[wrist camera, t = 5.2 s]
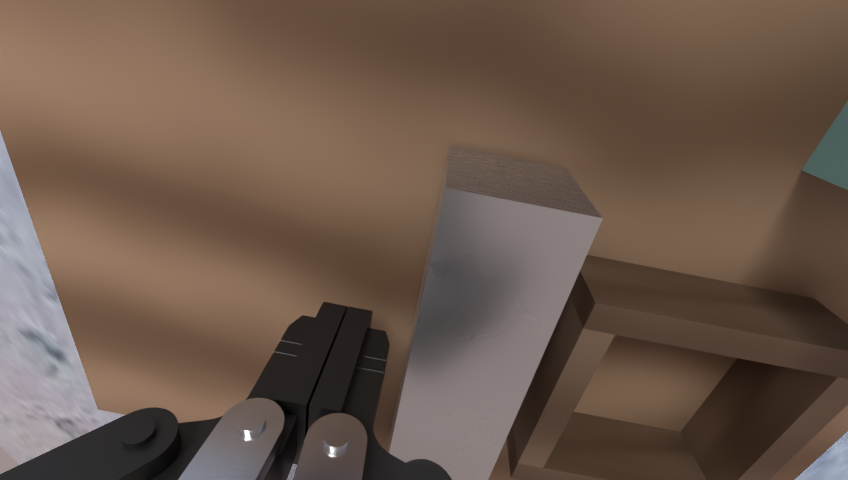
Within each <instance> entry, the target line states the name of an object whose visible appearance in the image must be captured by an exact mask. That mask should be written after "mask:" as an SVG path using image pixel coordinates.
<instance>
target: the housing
mask: <svg viewBox="0 0 848 480" xmlns="http://www.w3.org/2000/svg"><path fill="white" fill-rule="evenodd" d="M847 101H848V0H0V131H1V133H2V136H3V139H4V142H5V145H6V148H7V151H8V153H9V156H10V159H11V162H12V165H13V168H14V171H15V173H16V176H17V179H18V182H19V185H20V188H21V191H22V193H23V196H24V199H25V202H26V205H27V208H28V211H29V213H30V216H31V219H32V222H33V225H34V228H35V231H36V233H37V236H38V239H39V242H40V245H41V248H42V250H43V253H44V256H45V259H46V262H47V265H48V268H49V270H50V273H51V276H52V279H53V282H54V285H55V288H56V290H57V293H58V296H59V299H60V302H61V305H62V308H63V310H64V313H65V316H66V319H67V322H68V325H69V328H70V330H71V333H72V336H73V339H74V342H75V345H76V348H77V350H78V353H79V356H80V359H81V362H82V365H83V368H84V370H85V373H86V376H87V379H88V382H89V385H90V388H91V390H92V393H93V396H94V399H95V402H96V405H97V408H98V409H99V410H104V411H109V412H115V413H120V414H125V415H127V414H129V413H131V412H134V411H137V410H140V409H144V408H152V407H157V408H163V409H167V410H169V411H171V412H172V413H173V414H174V415H175V416H176V418H177V421H178V423H183V422H192V421H201V420H209V419H214V418H218V417H221V416H223V415H224V414H225V413H226V412H227V411H228V410H229V409H230V408H231V407H233V406H234V405H236V404H237V403H239V402H242V401H244V400H246V399H247V397H248V396H249V394H250V392H251V391H252V389H253V387H254V385H255V384H256V382H257V380H258V378H259V377H260V375H261V373H262V371H263V370H264V368H265V366H266V364H267V363H268V361H269V359H270V357H271V356H272V354H273V353H274V351H275V349H276V347H277V345H278V343H279V342H280V341H281V338H282V336H283V335H284V333H285V331H286V330H287V328H288V326H289V325H290V324H291V323H293V322H294V321H295V320H297V319H298V318H299V317H301V316H302V315H304V316H310V317H316V315H317V313H318V311H319V309H320V307H321V305H322V304H323V302H329V303H334V304H339V305H344V306H348V308H349V306H350V307H355V308H360V309H366V310H371V311H373V315H372V322H371V328H372V329H377V330H383V331H386V334H387V337H388V340H389V344H390V347H389V352H388V357H387V363H386V368H385V374H384V379H383V384H382V389H381V393H380V398H379V402H378V407H377V411H376V416H375V421H374V425H373V430H374V434H375V437H376V439H377V441H378V443H379V444H380V445H381V446H382V448H384V449H385V450H386V451H387V447H388V442H389V436H390V431H391V427H392V422H393V417H394V412H395V407H396V402H397V397H398V393H399V388H400V383H401V378H402V373H403V368H404V364H405V359H406V354H407V349H408V344H409V339H410V334H411V330H412V325H413V320H414V315H415V310H416V305H417V300H418V296H419V291H420V286H421V281H422V276H423V271H424V267H425V262H426V257H427V252H428V247H429V242H430V237H431V233H432V228H433V223H434V218H435V213H436V208H437V204H438V199H439V194H440V189H441V184H442V179H443V174H444V170H445V165H446V160H447V155H448V150H449V145H452V146H457V147H462V148H467V149H472V150H477V151H483V152H488V153H493V154H498V155H503V156H508V157H513V158H518V159H524V160H529V161H534V162H539V163H544V164H549V165H554V166H560V167H565V168H566V169H567V170H568V171H569V173H570V174H571V175H572V177H573V178H574V180H575V181H576V182H577V184H578V185H579V186H580V188H581V189H582V190H583V192H584V193H585V195H586V196H587V197H588V199H589V200H590V201H591V203H592V204H593V205H594V207H595V208H596V209H597V211H598V212H599V214H600V215H601V216H602V218H603V219H602V222H601V224H600V226H599V229H598V231H597V233H596V235H595V238H594V240H593V242H592V244H591V247H590V249H589V251H588V254H587V256H586V258H585V260H584V263H583V265H582V267H581V270H580V272H579V274H578V276H577V279H576V281H575V283H574V286H573V288H572V290H571V292H570V295H569V297H568V299H567V301H566V304H565V306H564V308H563V311H562V313H561V315H560V317H559V320H558V322H557V324H556V327H555V329H554V331H553V333H552V336H551V338H550V340H549V342H548V345H547V347H546V349H545V352H544V354H543V356H542V358H541V361H540V363H539V365H538V368H537V370H536V372H535V374H534V377H533V379H532V381H531V384H530V386H529V388H528V390H527V393H526V395H525V397H524V399H523V402H522V404H521V406H520V409H519V411H518V413H517V415H516V418H515V420H514V422H513V425H512V427H511V429H510V431H509V434H508V436H507V438H506V440H505V443H504V445H503V447H502V450H501V452H500V454H499V456H498V459H497V461H496V463H495V466H494V468H493V470H492V472H491V475H490V477H489V479H488V480H794V479H795V478H797V477H798V476H799V475H800V474H801V473H802V472H803V471H804V470H805V469H806V468H808V467H809V466H810V465H811V464H812V463H813V462H814V461H815V460H816V459H817V458H819V457H820V456H821V455H822V454H823V453H824V452H825V451H826V450H827V449H828V448H830V447H831V446H832V445H833V444H834V443H835V442H836V441H837V440H838V439H839V438H841V437H842V436H843V435H844V434H845V433H846V432H847V431H848V190H846V189H844V188H842V187H839V186H837V185H835V184H832V183H830V182H828V181H825V180H823V179H821V178H818V177H816V176H813V175H811V174H809V173H806V172H804V171H802V168H803V167H804V165H805V164H806V162H807V161H808V159H809V158H810V156H811V155H812V153H813V152H814V150H815V149H816V147H817V146H818V144H819V143H820V141H821V140H822V138H823V137H824V135H825V134H826V132H827V131H828V129H829V128H830V126H831V125H832V123H833V122H834V120H835V119H836V118H837V116H838V115H839V113H840V112H841V110H842V109H843V107H844V106H845V104H846V103H847Z"/></svg>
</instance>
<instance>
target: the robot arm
mask: <svg viewBox="0 0 848 480" xmlns="http://www.w3.org/2000/svg"><path fill="white" fill-rule="evenodd" d="M372 315H373V311H371V310H366V309H360V308H355V307H350V306H349V308H348V306H344V305H339V304H334V303H329V302H323V304H322V305H321V307H320V309H319V311H318V313H317V315H316V317H310V316H304V315H302V316H301V317H299V318H298V319H297V320H295V321H294V322H293V323H291V324H290V325H289V326H288V328H287V330H286V331H285V333H284V335H283V336H282V338H281V341H280V342H279V343H278V345H277V347H276V349H275V351H274V353H273V354H272V356H271V357H270V359H269V361H268V363H267V364H266V366H265V368H264V370H263V371H262V373H261V375H260V377H259V378H258V380H257V382H256V384H255V385H254V387H253V389H252V391H251V392H250V394H249V396H248V397H247V399H246V400H244V401H242V402H239V403H237V404H236V405H234V406H233V407H231V408H230V409H229V410H228V411H227V412H226V413H225V414H224V415H223V416H221V417H218V418H214V419H209V420H201V421H192V422H183V423H178V421H177V418H176V416H175V415H174V414H173V413H172V412H171V411H169V410H167V409H163V408H157V407H152V408H144V409H140V410H137V411H134V412H131V413H129V414H127V415H125V416H123V417H120V418H118V419H116V420H114V421H112V422H110V423H108V424H106V425H104V426H101V427H99V428H97V429H95V430H93V431H91V432H89V433H87V434H85V435H82V436H80V437H78V438H76V439H74V440H72V441H70V442H68V443H65V444H63V445H61V446H59V447H57V448H55V449H53V450H51V451H49V452H46V453H44V454H42V455H40V456H38V457H36V458H34V459H32V460H30V461H27V462H25V463H23V464H21V465H19V466H17V467H15V468H13V469H11V470H9V471H6V472H4V473H2V474H0V480H287V477H288V475H289V472H290V469H291V467H292V464H298V465H297V468H296V472H295V475H294V478H293V480H452V479H451V477H450V476H449V474H448V473H447V472H446V471H445V470H444V469H443V468H442V467H441V466H440V465H438V464H437V463H435V462H433V461H430V460H427V459H414V460H411V461H408V462H406V463H405V462H403V461H402V460H400V459H398V458H396V457H395V456H393V455H391V454H390V453H388V452H387V451H386V450H385V449H384V448H382V446H381V445H380V444H379V443H378V441H377V439H376V437H375V434H374V430H373V425H374V421H375V416H376V411H377V407H378V402H379V398H380V393H381V389H382V384H383V379H384V374H385V368H386V363H387V357H388V352H389V347H390V344H389V340H388V337H387V334H386V331H383V330H377V329H372V328H371V322H372Z"/></svg>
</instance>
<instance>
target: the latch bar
mask: <svg viewBox="0 0 848 480" xmlns="http://www.w3.org/2000/svg"><path fill="white" fill-rule="evenodd" d="M602 219H603V218H602V216H601V215H600V214H599V212H598V211H597V209H596V208H595V207H594V205H593V204H592V203H591V201H590V200H589V199H588V197H587V196H586V195H585V193H584V192H583V190H582V189H581V188H580V186H579V185H578V184H577V182H576V181H575V180H574V178H573V177H572V175H571V174H570V173H569V171H568V170H567V169H566V168H565V167H560V166H554V165H549V164H544V163H539V162H534V161H529V160H524V159H518V158H513V157H508V156H503V155H498V154H493V153H488V152H483V151H477V150H472V149H467V148H462V147H457V146H452V145H449V150H448V155H447V160H446V165H445V170H444V174H443V179H442V184H441V189H440V194H439V199H438V204H437V208H436V213H435V218H434V223H433V228H432V233H431V237H430V242H429V247H428V252H427V257H426V262H425V267H424V271H423V276H422V281H421V286H420V291H419V296H418V300H417V305H416V310H415V315H414V320H413V325H412V330H411V334H410V339H409V344H408V349H407V354H406V359H405V364H404V368H403V373H402V378H401V383H400V388H399V393H398V397H397V402H396V407H395V412H394V417H393V422H392V427H391V431H390V436H389V442H388V447H387V452H388V453H390V454H391V455H393V456H395V457H396V458H398V459H400V460H402V461H403V462H405V463H406V462H408V461H411V460H414V459H427V460H430V461H433V462H435V463H437V464H438V465H440V466H441V467H442V468H443V469H444V470H445V471H446V472H447V473H448V474H449V476H450V477H451V479H452V480H488V479H489V477H490V475H491V472H492V470H493V468H494V466H495V463H496V461H497V459H498V456H499V454H500V452H501V450H502V447H503V445H504V443H505V440H506V438H507V436H508V434H509V431H510V429H511V427H512V425H513V422H514V420H515V418H516V415H517V413H518V411H519V409H520V406H521V404H522V402H523V399H524V397H525V395H526V393H527V390H528V388H529V386H530V384H531V381H532V379H533V377H534V374H535V372H536V370H537V368H538V365H539V363H540V361H541V358H542V356H543V354H544V352H545V349H546V347H547V345H548V342H549V340H550V338H551V336H552V333H553V331H554V329H555V327H556V324H557V322H558V320H559V317H560V315H561V313H562V311H563V308H564V306H565V304H566V301H567V299H568V297H569V295H570V292H571V290H572V288H573V286H574V283H575V281H576V279H577V276H578V274H579V272H580V270H581V267H582V265H583V263H584V260H585V258H586V256H587V254H588V251H589V249H590V247H591V244H592V242H593V240H594V238H595V235H596V233H597V231H598V229H599V226H600V224H601V222H602Z"/></svg>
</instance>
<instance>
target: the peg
mask: <svg viewBox="0 0 848 480" xmlns="http://www.w3.org/2000/svg"><path fill="white" fill-rule="evenodd" d="M802 171H804V172H806V173H809V174H811V175H813V176H816V177H818V178H821V179H823V180H825V181H828V182H830V183H832V184H835V185H837V186H839V187H842V188H844V189H846V190H848V101H847V103H846V104H845V106H844V107H843V109H842V110H841V112H840V113H839V115H838V116H837V118H836V119H835V120H834V122H833V123H832V125H831V126H830V128H829V129H828V131H827V132H826V134H825V135H824V137H823V138H822V140H821V141H820V143H819V144H818V146H817V147H816V149H815V150H814V152H813V153H812V155H811V156H810V158H809V159H808V161H807V162H806V164H805V165H804V167H803V168H802Z"/></svg>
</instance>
